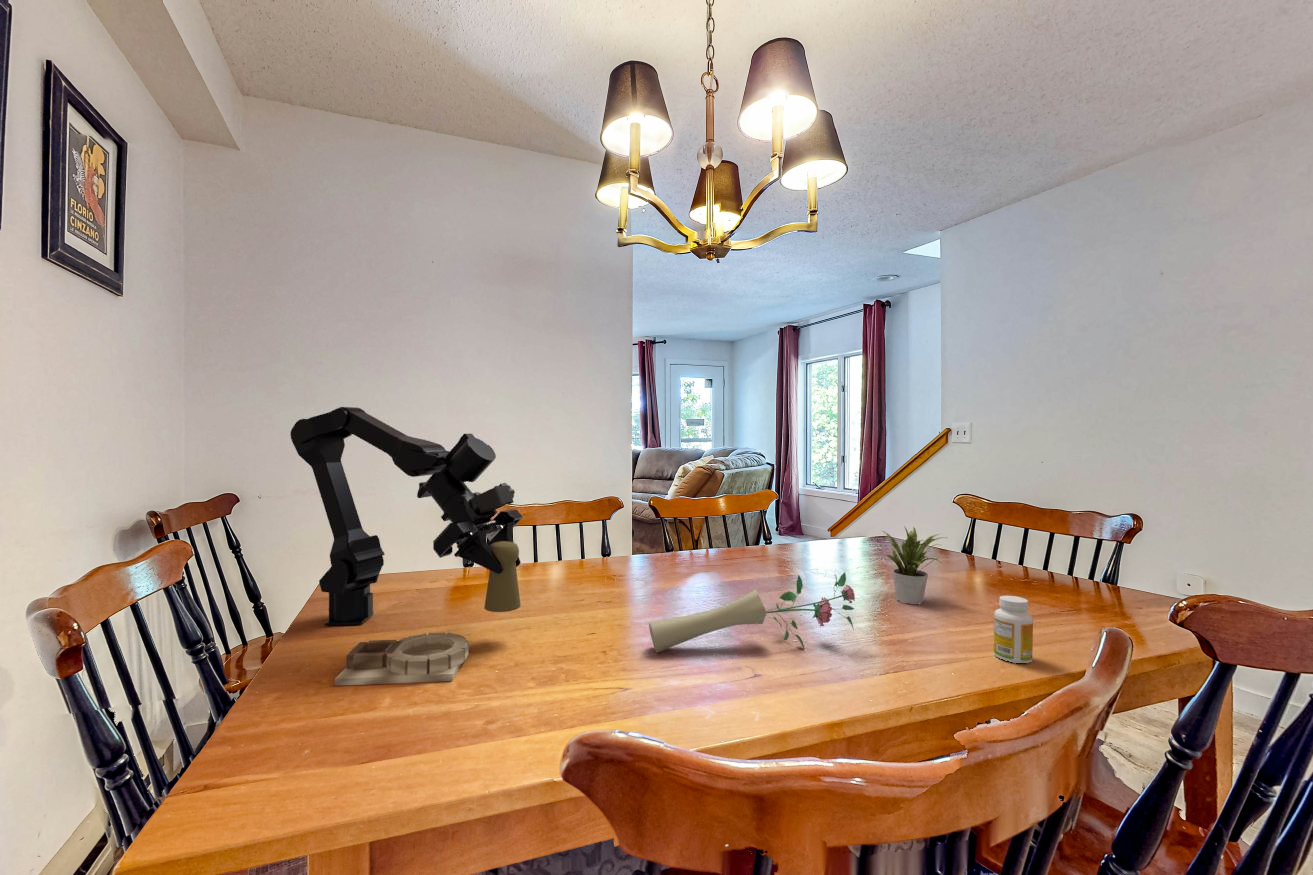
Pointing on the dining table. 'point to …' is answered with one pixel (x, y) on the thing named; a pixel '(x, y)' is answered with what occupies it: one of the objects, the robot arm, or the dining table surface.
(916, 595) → the house plant
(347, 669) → the holder
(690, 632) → the flower vase
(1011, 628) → the supplement bottle
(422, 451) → the robot arm
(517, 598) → the olive tapered knobbed peg
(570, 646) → the dining table surface
